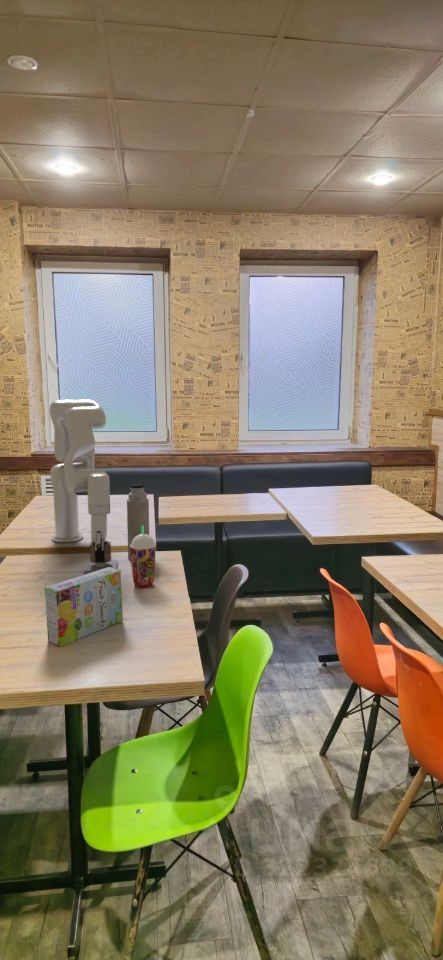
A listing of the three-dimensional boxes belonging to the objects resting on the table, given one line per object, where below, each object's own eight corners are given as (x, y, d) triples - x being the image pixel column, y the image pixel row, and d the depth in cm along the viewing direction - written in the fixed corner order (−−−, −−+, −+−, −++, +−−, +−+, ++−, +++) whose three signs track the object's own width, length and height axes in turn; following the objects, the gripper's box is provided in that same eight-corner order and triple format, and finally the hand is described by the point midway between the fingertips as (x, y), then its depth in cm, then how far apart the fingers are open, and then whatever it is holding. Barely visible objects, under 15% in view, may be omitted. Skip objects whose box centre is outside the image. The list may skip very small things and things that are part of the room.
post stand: (86, 565, 217) (86, 548, 216) (117, 564, 219) (117, 548, 218) (83, 575, 207) (83, 558, 206) (116, 573, 208) (115, 557, 207)
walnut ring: (91, 557, 215) (91, 541, 214) (111, 556, 216) (111, 540, 215) (89, 563, 208) (89, 546, 207) (110, 562, 209) (109, 546, 208)
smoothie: (152, 590, 192) (151, 529, 188) (127, 588, 194) (125, 528, 190) (159, 582, 200) (159, 523, 197) (135, 580, 202) (134, 522, 198)
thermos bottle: (131, 554, 230) (129, 482, 225) (151, 555, 229) (150, 482, 225) (125, 560, 222) (123, 486, 217) (147, 561, 222) (145, 486, 217)
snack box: (110, 616, 172) (108, 565, 169) (123, 621, 168) (122, 570, 166) (46, 641, 156) (43, 586, 153) (59, 648, 152) (57, 591, 149)
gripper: (90, 503, 217) (92, 551, 220) (85, 514, 200) (87, 566, 203) (111, 503, 218) (113, 550, 221) (108, 514, 201) (110, 565, 204)
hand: (100, 557), depth 212 cm, fingers closed on walnut ring, 7 cm apart
